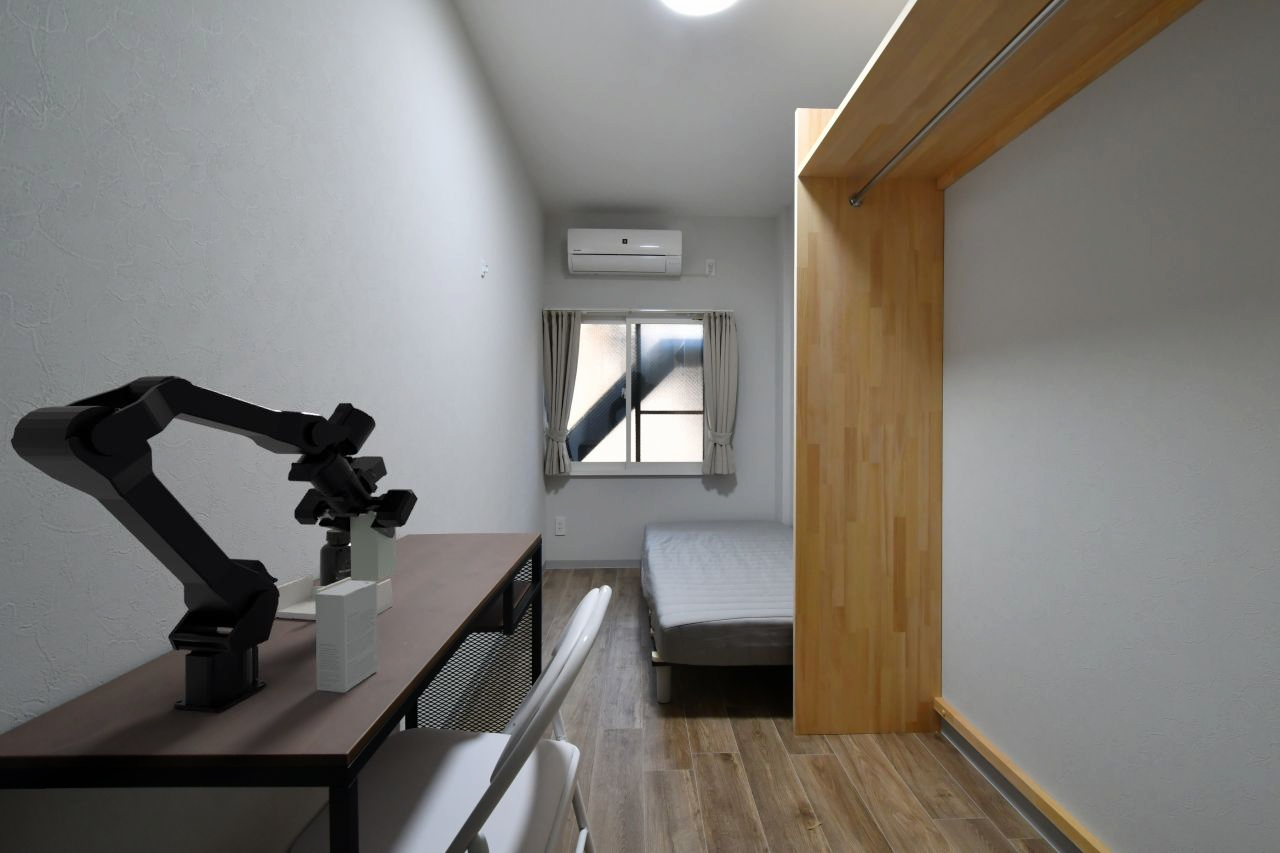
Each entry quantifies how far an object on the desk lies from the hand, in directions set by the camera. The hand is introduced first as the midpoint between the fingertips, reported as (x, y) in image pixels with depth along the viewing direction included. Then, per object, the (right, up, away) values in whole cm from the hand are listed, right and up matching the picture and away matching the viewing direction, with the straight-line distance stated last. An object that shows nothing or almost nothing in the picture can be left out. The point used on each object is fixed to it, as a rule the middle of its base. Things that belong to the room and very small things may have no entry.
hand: (378, 535), depth 91 cm
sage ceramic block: (0, -7, -1) cm, 7 cm away
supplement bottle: (-14, -14, +12) cm, 23 cm away
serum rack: (-8, -13, 0) cm, 16 cm away
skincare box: (+8, -14, -25) cm, 29 cm away
